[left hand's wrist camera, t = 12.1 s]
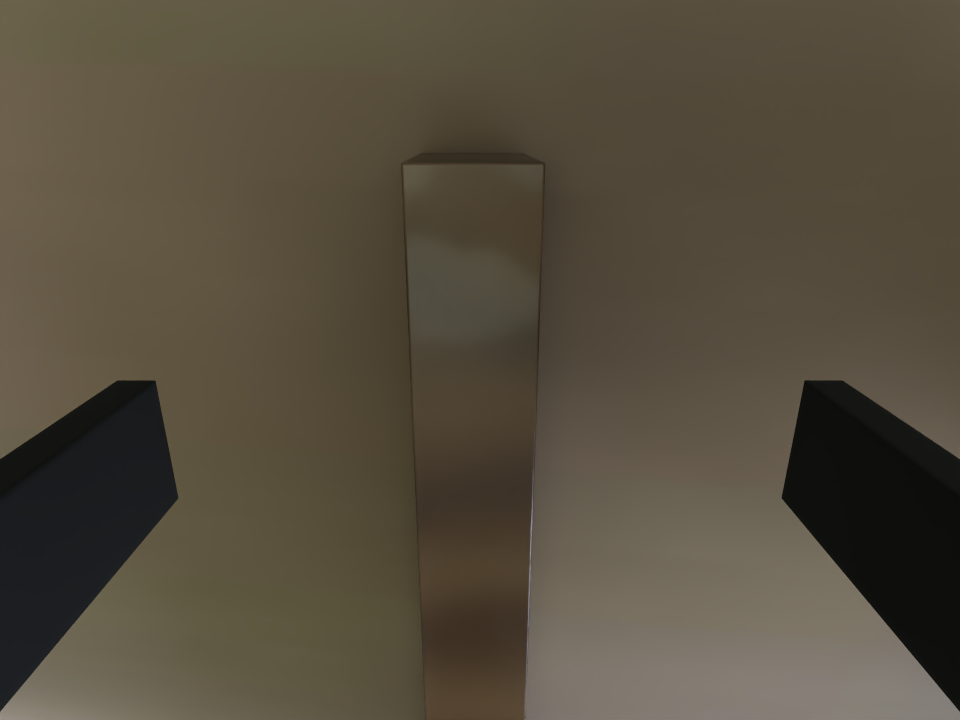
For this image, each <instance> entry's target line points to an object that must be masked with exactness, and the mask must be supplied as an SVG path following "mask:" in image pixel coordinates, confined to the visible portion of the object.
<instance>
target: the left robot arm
mask: <svg viewBox="0 0 960 720" xmlns="http://www.w3.org/2000/svg"><path fill="white" fill-rule="evenodd" d="M177 499H178V494H177V489H176V484H175V479H174V473H173V468H172V463H171V458H170V453H169V448H168V443H167V438H166V433H165V428H164V422H163V417H162V412H161V407H160V402H159V397H158V392H157V387H156V382H155V381H116V382H115V383H113V384H112V385H110V386H109V387H107V388H106V389H104V390H103V391H101V392H100V393H98V394H97V395H95V396H94V397H92V398H91V399H89V400H88V401H86V402H85V403H83V404H82V405H80V406H79V407H77V408H76V409H74V410H73V411H71V412H70V413H68V414H67V415H65V416H64V417H62V418H61V419H60V420H58V421H57V422H55V423H54V424H52V425H51V426H49V427H48V428H46V429H45V430H43V431H42V432H40V433H39V434H37V435H36V436H34V437H33V438H31V439H30V440H28V441H27V442H25V443H24V444H22V445H21V446H19V447H18V448H16V449H15V450H13V451H12V452H10V453H9V454H7V455H6V456H4V457H3V458H1V459H0V711H1V710H2V709H3V708H4V706H5V705H6V704H7V703H8V702H9V700H10V699H11V698H12V697H13V696H14V694H15V693H16V692H17V691H18V690H19V688H20V687H21V686H22V685H23V684H24V682H25V681H26V680H27V679H28V678H29V676H30V675H31V674H32V673H33V672H34V670H35V669H36V668H37V667H38V666H39V664H40V663H41V662H42V661H43V660H44V658H45V657H46V656H47V655H48V654H49V652H50V651H51V650H52V649H53V648H54V646H55V645H56V644H57V643H58V642H59V641H60V639H61V638H62V637H63V636H64V635H65V633H66V632H67V631H68V630H69V629H70V627H71V626H72V625H73V624H74V623H75V621H76V620H77V619H78V618H79V617H80V615H81V614H82V613H83V612H84V611H85V609H86V608H87V607H88V606H89V605H90V603H91V602H92V601H93V600H94V599H95V597H96V596H97V595H98V594H99V593H100V591H101V590H102V589H103V588H104V587H105V585H106V584H107V583H108V582H109V581H110V579H111V578H112V577H113V576H114V575H115V573H116V572H117V571H118V570H119V569H120V567H121V566H122V565H123V564H124V563H125V561H126V560H127V559H128V558H129V557H130V555H131V554H132V553H133V552H134V551H135V550H136V548H137V547H138V546H139V545H140V544H141V542H142V541H143V540H144V539H145V538H146V536H147V535H148V534H149V533H150V532H151V530H152V529H153V528H154V527H155V526H156V524H157V523H158V522H159V521H160V520H161V518H162V517H163V516H164V515H165V514H166V512H167V511H168V510H169V509H170V508H171V506H172V505H173V504H174V503H175V502H176V500H177ZM782 499H783V500H784V502H785V503H786V504H787V505H788V506H789V508H790V509H791V510H792V511H793V512H794V514H795V515H796V516H797V517H798V518H799V520H800V521H801V522H802V523H803V524H804V526H805V527H806V528H807V529H808V530H809V532H810V533H811V534H812V535H813V536H814V538H815V539H816V540H817V541H818V542H819V544H820V545H821V546H822V547H823V548H824V550H825V551H826V552H827V553H828V554H829V555H830V557H831V558H832V559H833V560H834V561H835V563H836V564H837V565H838V566H839V567H840V569H841V570H842V571H843V572H844V573H845V575H846V576H847V577H848V578H849V579H850V581H851V582H852V583H853V584H854V585H855V587H856V588H857V589H858V590H859V591H860V593H861V594H862V595H863V596H864V597H865V599H866V600H867V601H868V602H869V603H870V605H871V606H872V607H873V608H874V609H875V611H876V612H877V613H878V614H879V615H880V617H881V618H882V619H883V620H884V621H885V623H886V624H887V625H888V626H889V627H890V629H891V630H892V631H893V632H894V633H895V635H896V636H897V637H898V638H899V639H900V641H901V642H902V643H903V644H904V645H905V646H906V648H907V649H908V650H909V651H910V652H911V654H912V655H913V656H914V657H915V658H916V660H917V661H918V662H919V663H920V664H921V666H922V667H923V668H924V669H925V670H926V672H927V673H928V674H929V675H930V676H931V678H932V679H933V680H934V681H935V682H936V684H937V685H938V686H939V687H940V688H941V690H942V691H943V692H944V693H945V694H946V696H947V697H948V698H949V699H950V700H951V702H952V703H953V704H954V705H955V706H956V708H957V709H958V710H959V711H960V459H959V458H957V457H956V456H954V455H953V454H951V453H950V452H948V451H947V450H945V449H944V448H942V447H941V446H939V445H938V444H936V443H935V442H933V441H932V440H930V439H929V438H927V437H926V436H924V435H923V434H921V433H920V432H918V431H917V430H915V429H914V428H912V427H911V426H909V425H908V424H906V423H905V422H903V421H902V420H900V419H899V418H898V417H896V416H895V415H893V414H892V413H890V412H889V411H887V410H886V409H884V408H883V407H881V406H880V405H878V404H877V403H875V402H874V401H872V400H871V399H869V398H868V397H866V396H865V395H863V394H862V393H860V392H859V391H857V390H856V389H854V388H853V387H851V386H850V385H848V384H847V383H845V382H844V381H805V382H804V387H803V392H802V397H801V402H800V407H799V412H798V417H797V422H796V428H795V433H794V438H793V443H792V448H791V453H790V458H789V463H788V468H787V473H786V479H785V484H784V489H783V494H782Z"/></svg>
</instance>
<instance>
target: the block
mask: <svg viewBox="0 0 960 720" xmlns="http://www.w3.org/2000/svg"><path fill="white" fill-rule="evenodd" d="M401 171H402V194H403V217H404V240H405V263H406V286H407V308H408V331H409V354H410V377H411V400H412V423H413V446H414V468H415V491H416V514H417V537H418V560H419V583H420V606H421V629H422V651H423V674H424V697H425V720H525V718H526V690H527V662H528V634H529V606H530V578H531V550H532V522H533V494H534V466H535V438H536V410H537V382H538V354H539V326H540V299H541V271H542V243H543V215H544V187H545V163H543V162H541V161H539V160H537V159H534V158H532V157H530V156H528V155H526V154H419V155H417V156H415V157H413V158H411V159H409V160H407V161H405V162H404V163H402V165H401Z"/></svg>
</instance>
